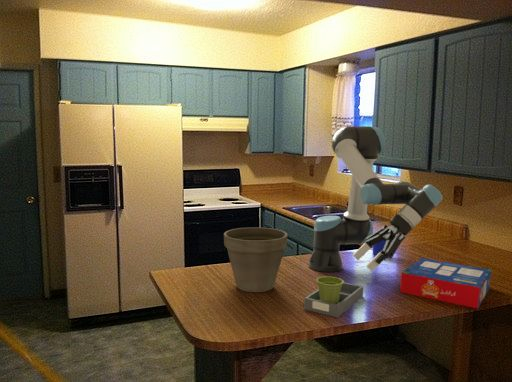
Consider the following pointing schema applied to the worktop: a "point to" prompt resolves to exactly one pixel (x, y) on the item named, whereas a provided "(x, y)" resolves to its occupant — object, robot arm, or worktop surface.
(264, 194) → the worktop surface
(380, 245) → the mug
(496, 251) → the worktop surface
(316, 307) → the tray
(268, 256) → the plant pot
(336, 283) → the plant pot
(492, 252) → the worktop surface
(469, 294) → the pasta box
